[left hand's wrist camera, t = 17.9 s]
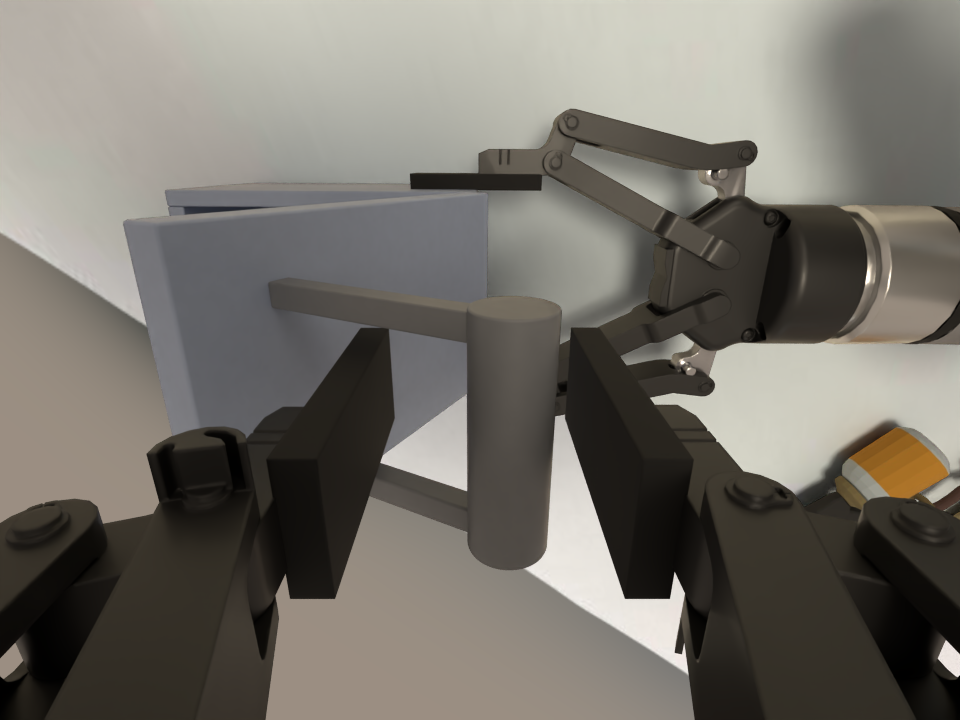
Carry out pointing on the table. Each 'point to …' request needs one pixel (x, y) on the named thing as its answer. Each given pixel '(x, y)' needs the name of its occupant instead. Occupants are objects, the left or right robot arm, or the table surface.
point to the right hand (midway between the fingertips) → (417, 273)
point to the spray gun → (888, 475)
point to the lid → (336, 320)
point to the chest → (283, 195)
